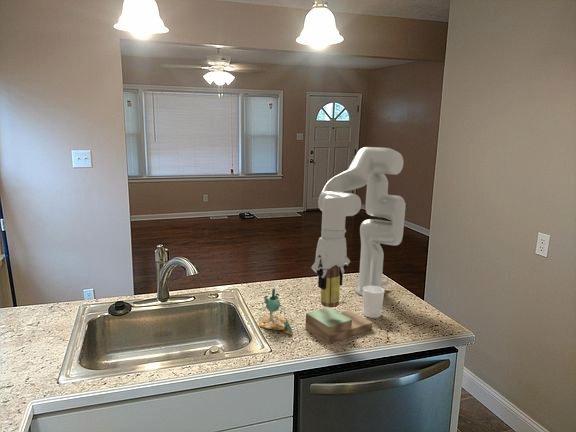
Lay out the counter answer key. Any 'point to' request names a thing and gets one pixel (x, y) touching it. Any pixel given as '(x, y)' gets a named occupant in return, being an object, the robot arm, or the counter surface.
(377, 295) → the white cup
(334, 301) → the sauce bottle
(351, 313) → the stand
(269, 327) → the teal toy figure
